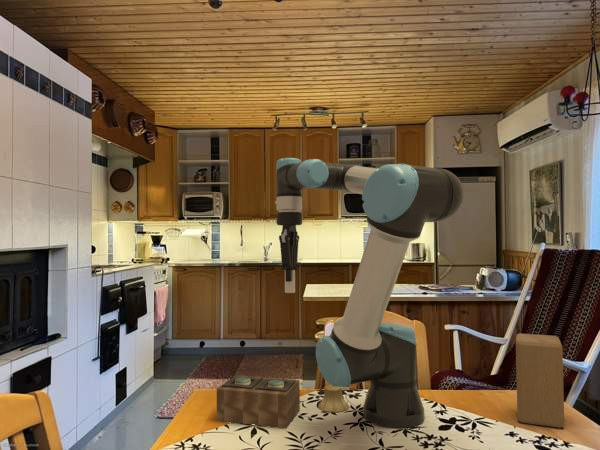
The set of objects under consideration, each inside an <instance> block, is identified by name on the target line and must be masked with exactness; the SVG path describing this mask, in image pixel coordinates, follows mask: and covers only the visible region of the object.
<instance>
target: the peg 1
mask: <svg viewBox="0 0 600 450" xmlns="http://www.w3.org/2000/svg"><path fill="white" fill-rule="evenodd" d="M250 383H251V379H250V378H247V377H241V378H237V379H235V384H239V385H249V384H250Z"/></svg>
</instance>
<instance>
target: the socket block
mask: <svg viewBox="0 0 600 450" xmlns="http://www.w3.org/2000/svg"><path fill="white" fill-rule="evenodd" d="M241 377H247V378H250V379H251V383H250V384H249V385H239V384H235V379H237V378H241ZM271 380H282V381H284V387H283V388H277V387H268V382H269V381H271ZM300 384H301V383H300V379H290V378H280V377H279V378H277V377H264V376H252V375H251V376H249V375H238V374H236V375H234V376H233V377H232V378H229V379H228V380H227V381H225V382H224V383H223V384H222V385H220V386H219V387H218V388H216V422H217V421H220V422H219V423H225V422H231V423H230V424H234V423H243V424H242V425H244V424H255V425H263V426H270V427H269V428H273V427H278V428H277V429H283V428H287V429H288V427H289V426H290V425H289V424H291V423H292V422H293V421H294V419H295V418H296V416H297V415H298V414H299V412H300V411H301V408H300V407H301V405H300V403H301V398H300V397H301V396H300V395H301V394H300V393H301V392H300V387H301V386H300ZM263 426H262V427H263Z"/></svg>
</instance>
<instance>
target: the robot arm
mask: <svg viewBox="0 0 600 450" xmlns="http://www.w3.org/2000/svg"><path fill="white" fill-rule="evenodd" d="M275 167H276V168H275V188H276V190H275V191H276V193H275V194H276V200H275V201H274V204H275V205H276V211H277V212H276V225H277V226H282V230H281V233H280V235H278V240H279V244H280V256H281V257H280V258H281V259H280V261H281V268H280V269H281V271H284V293H285V294H286V293H287V294H288V293H289V294H294V293H295V294H296V270H299V267H298V259H299V258H298V255H299V253H298V252H299V241H300V235H298V231H297V226H301V225H302V224H303V213H302V212H301V211H302V210H303V190H305V189H306V190H308V189H313V190H331V191H332V190H333V191H344V192H348V193H355V194H358V195H361V200H362V201H363V203H362V209H363V212H364V214H365V215H366V216H367V217H366V223H367V225H368V226H369V228H370V230H369V234H368V238H367V240H366V243H365V247H364V249H363V254H362V257H361V259H360V263H359V265H358V269H357V272H356V275H355V279H354V281H353V284H352V288H351V291H350V293H349V298H348V300H347V304H346V306H345V310H344V312H343V316H342V317H341V318H339V319H337V320H336V321H334V324H333V326H332V329H331V333H330V334H329V335H324V336H322V337H321V338H319V339H318V340H317V342H316V345H315V358H316V362H317V367H318V370H319V371H320V372H319V373H320V374H321V377H322V378H323V379H324V381H326V383H327V384H328V385H329V384H330V385H332V386H335V387H340V386H341V387H350V386H352V385H357V384H361V383H366V382H369V386H368V389H367V392H366V395H365V400H364V402H363V405H362V411H363V413H362V415H363V418H364V419H365V420H366V421H368V422H370V423H371V424H374V425H377V426H382V427H385V428H395V429H397V428H398V429H399V428H401V429H403V428H411V427H416V426H418V425H420V424H422V423H423V422H424V421H425V408H424V405H423V402H422V399H421V396H420V395H421V394H420V392H419V390H418V385H417V346H418V344H417V340H416V339H417V338H416V332H415V330H414V328H412V327H410V326H408V325H404V324H398V323H397V324H396V323H390V322H382V321H383V319H384V316H385V313H386V310H387V307H388V304H389V302H390V299H391V296H392V293H393V290H394V289H395V288H394V287H395V285H396V282H397V279H398V277H399V274H400V271H401V268H402V267H403V263H404V259H405V256H406V254H407V251H408V248H409V245H410V244H411V242H412V241H416V240H418V239H419V238H420V237H421V234H422V231H423V229H424V226H425V223H438V222H439V223H440V222H444V221H447V220H448V219H450V218H452V217H453V216H454V215H456V213H458V211H459V210H460V209H461V207H462V205H463V201H464V197H465V195H464V192H465V191H464V187H463V185H462V182H461V180H460V179H459V178H458V177H457V175H456V174H454V173H453V172H451V171H450V170H448V169H444V168H439V167H428V166H419V165H414V164H413V165H412V164H411V165H410V164H406V163H396V164H391V163H389V164H388V163H387V164H383V165H382V166H380V167H378V168H375V167H366V166H361V165H356V164H343V163H334V162H333V163H332V162H325V161H323V160H322V159H318V158H313V159H310V158H309V159H307V160H304V161H302V160H301V159H299V158H296V157H284V158H280V159H278V160H277V161H276V166H275Z"/></svg>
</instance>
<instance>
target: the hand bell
mask: <svg viewBox="0 0 600 450" xmlns="http://www.w3.org/2000/svg"><path fill="white" fill-rule="evenodd" d="M342 389H343V388H342V386H340V387H335V386H332V385H330V384H329V383H328V384H326V385H325V387H324V393H323V396H322V399H321V400H320V402H319V403H318V406H317V407H318V409H319V410H321V411H323V412H325V413H342V412H345V411H347V410H349V409H350V405H349V403H348V402H347V401H346V400H345V397H344V395H343V390H342Z"/></svg>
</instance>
